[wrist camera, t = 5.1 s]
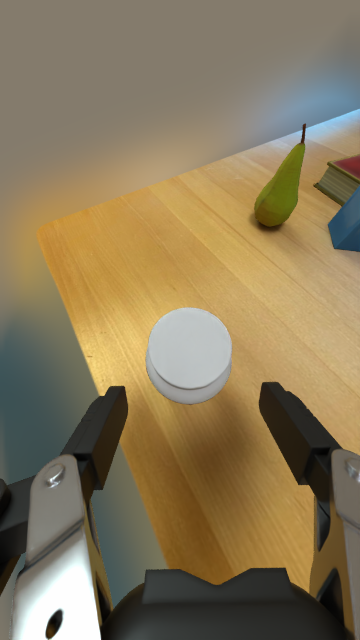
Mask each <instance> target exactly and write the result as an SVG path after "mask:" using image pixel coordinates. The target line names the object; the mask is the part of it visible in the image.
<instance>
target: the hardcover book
mask: <svg viewBox="0 0 360 640" xmlns="http://www.w3.org/2000/svg"><path fill="white" fill-rule="evenodd" d="M327 165H328V166H329V167H328V169H327V171H326V172H325V174H324V175H323V177H322V179H321V180H320V182H319V183H316V184H315V185H314V186H315V187H316V188H318V189H319V190H320V191H322V192H323V193H325V194H326V195H327V196H329V197H330V198H331V199H333V200H334V201H336V202H337V203H338V204H340V205H341V206H343V205H344V204H345V203H346V202H347V200H348V199H349V198H350V197H351V196H352V194H353V193H354V192H355V191H356V190H357V188H358V187H359V186H360V154H357V155H354V156H350V157H346V158H342V159H338V160H334V161H330V162H328V163H327Z"/></svg>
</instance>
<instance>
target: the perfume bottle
mask: <svg viewBox="0 0 360 640" xmlns="http://www.w3.org/2000/svg"><path fill="white" fill-rule="evenodd" d="M328 226H329V230H330V234H331V238H332V241H333V245H334V248H335V249H343V250H351V251H359V252H360V186H359V187H358V188H357V190H356V191H355V192H354V193H353V194H352V196H351V197H350V198H349V199H348V200H347V202H346V203H345V204H344V205H343V207H342V208H341V209H340V210H339V211H338V213H337V214H336V215H335V216H334V217H333V219H332V220H331V221H330V222H329V224H328Z"/></svg>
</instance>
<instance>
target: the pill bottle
mask: <svg viewBox="0 0 360 640" xmlns="http://www.w3.org/2000/svg"><path fill="white" fill-rule="evenodd" d="M231 355H232V343H231V338H230V335H229V333H228V331H227V329H226V327H225V326H224V324H223V323H222V322H221V321H220V320H219V319H218V318H217V317H216V316H214V315H213V314H211V313H209V312H207V311H205V310H202V309H198V308H180V309H176V310H173V311H171V312H169V313H167V314H166V315H164V316H163V317H162V318H161V319H160V320H159V321H158V322H157V323H156V324H155V326H154V327H153V329H152V331H151V334H150V337H149V342H148V348H147V352H146V369H147V373H148V376H149V378H150V380H151V382H152V384H153V385H154V386H155V388H156V389H157V390H158V391H159V392H160V393H161V394H162V395H163V396H165V397H166V398H168V399H170V400H172V401H174V402H177V403H181V404H189V405H191V404H197V403H201V402H204V401H207V400H209V399H211V398H212V397H214V396H215V395H216V394H217V393H219V392H220V390H221V389H222V388H223V387H224V385H225V384H226V382H227V380H228V378H229V375H230V372H231V364H232V360H231Z"/></svg>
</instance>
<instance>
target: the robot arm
mask: <svg viewBox="0 0 360 640" xmlns="http://www.w3.org/2000/svg"><path fill="white" fill-rule="evenodd" d="M259 409H260V413H261V415H262V417H263V419H264V421H265V422H266V424H267V426H268V428H269V430H270V432H271V434H272V436H273V438H274V439H275V441H276V443H277V445H278V447H279V449H280V451H281V453H282V455H283V456H284V458H285V460H286V462H287V464H288V466H289V468H290V470H291V472H292V473H293V475H294V477H295V479H296V481H297V483H298V485H309V486H310V488H311V489H312V491H313V493H314V495H315V496H314V553H313V563H312V568H311V574H310V586H309V593H308V592H306V591H305V590H304V589H302V588H300V587H299V586H297V585H295V584H294V583H291V582H290V580H289V577H288V574H287V571H286V568H250V569H249V570H247V571H245V572H243V573H241V574H239V575H237V576H235V577H234V578H232V579H230V580H228V581H226V582H224V583H222V584H220V585H214V584H211V583H209V582H207V581H205V580H203V579H200V578H198V577H196V576H194V575H192V574H189V573H187V572H185V571H183V570H180V569H164V570H146V574H145V582H144V583H142V584H140V585H138V586H137V587H136V588H134V589H133V590H132V591H130V592H129V593H128V594H127V595H126V596H125V597H124V598H123V599H122V600H121V601H120V602H119V603H118V604H117V606H116V607H115V608H114V609H113V604H112V599H111V594H110V589H109V585H108V580H107V576H106V572H105V568H104V564H103V560H102V556H101V551H100V545H99V540H98V535H97V530H96V524H95V519H94V514H93V508H92V503H91V500H90V499H91V496H92V494H93V491H94V490H103V487H104V484H105V481H106V478H107V475H108V472H109V469H110V466H111V463H112V460H113V457H114V454H115V451H116V449H117V446H118V443H119V440H120V437H121V434H122V431H123V428H124V425H125V422H126V419H127V415H128V403H127V397H126V391H125V387H124V386H110V387H109V388H108V390H107V392H106V394H105V396H99V397H98V398H97V399H96V400H95V401H94V402H93V403H92V404H91V405H90V407H89V408H88V410H87V412H86V414H85V415H84V417H83V418H82V420H81V422H80V423H79V425H78V426H77V428H76V430H75V431H74V433H73V434H72V436H71V438H70V439H69V441H68V443H67V444H66V446H65V447H64V449H63V451H62V452H61V454H60V455H59V456H58V457H57V458H54V459H53V460H51V461H50V462H49V463H47V464H46V465H45V466H44V467H43V468H42V469H41V470H40V471H39V473H38V474H37V475H35V476H32V477H29V478H27V479H24V480H21V481H18V482H15V483H13V484H10V485H6V483H5V482H4V480H2V479H0V595H1V593H2V592H3V590H4V588H5V586H6V584H7V582H8V580H9V578H10V576H11V573H12V572H13V570H14V568H15V566H16V564H17V562H18V560H19V558H20V556H21V554H23V553H25V552H26V561H25V565H24V568H23V569H22V570H21V571H20V572H19V574H18V576H17V579H16V583H15V588H14V596H13V605H12V615H11V625H10V636H9V640H360V456H359V455H357V454H355V453H353V452H351V451H348V450H344V449H343V448H342V447H341V446H340V445H339V444H338V443H337V442H336V440H335V439H334V438H333V437H332V436H331V435H330V433H329V432H328V431H327V430H326V429H325V428H324V427H323V425H322V424H321V423H320V422H319V421H318V420H317V418H316V417H315V416H313V414H312V413H311V412H310V410H309V409H307V407H306V406H305V405H304V403H303V402H302V401H301V400H300V399H299V398H298V397H296V396H295V395H294V394H292V393H291V392H289V391H285V390H284V388H283V387H282V386H281V385H280V384H279V383H278V382H263V383H262V386H261V392H260V398H259Z"/></svg>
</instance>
